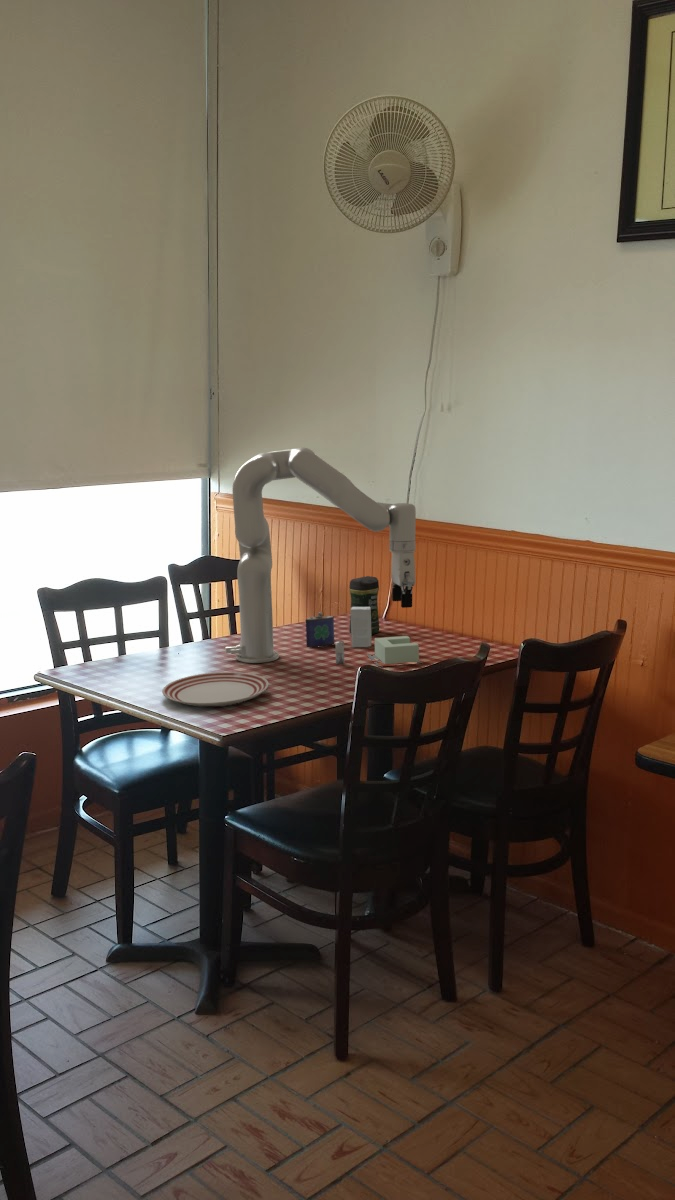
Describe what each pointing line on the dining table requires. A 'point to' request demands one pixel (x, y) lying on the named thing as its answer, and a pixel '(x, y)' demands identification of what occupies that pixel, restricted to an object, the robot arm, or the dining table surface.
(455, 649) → the dining table surface
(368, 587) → the coffee jar
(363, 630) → the skincare box
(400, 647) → the c link
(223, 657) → the dining table surface
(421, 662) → the mat
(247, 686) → the dinner plate
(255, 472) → the robot arm
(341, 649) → the post
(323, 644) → the flask
